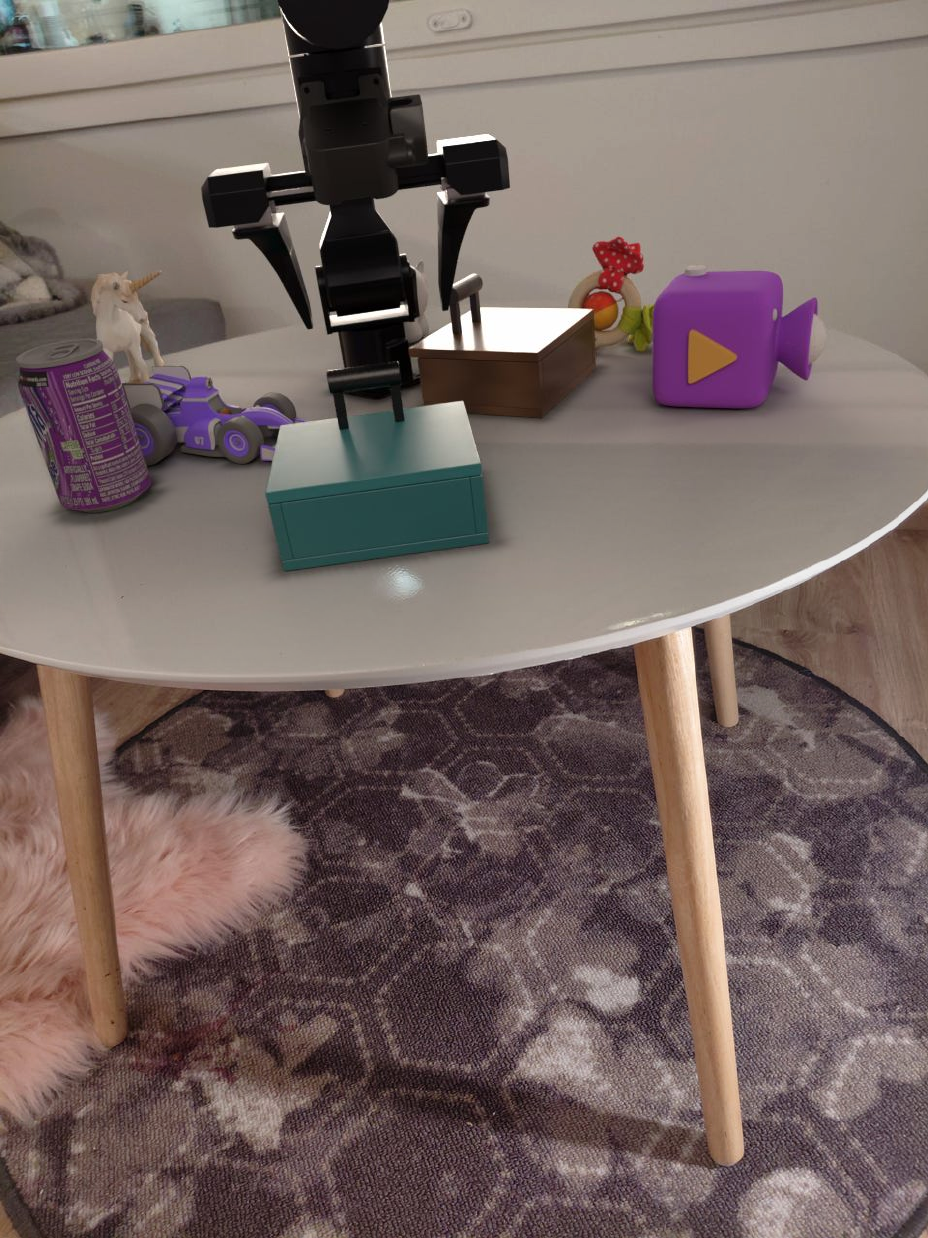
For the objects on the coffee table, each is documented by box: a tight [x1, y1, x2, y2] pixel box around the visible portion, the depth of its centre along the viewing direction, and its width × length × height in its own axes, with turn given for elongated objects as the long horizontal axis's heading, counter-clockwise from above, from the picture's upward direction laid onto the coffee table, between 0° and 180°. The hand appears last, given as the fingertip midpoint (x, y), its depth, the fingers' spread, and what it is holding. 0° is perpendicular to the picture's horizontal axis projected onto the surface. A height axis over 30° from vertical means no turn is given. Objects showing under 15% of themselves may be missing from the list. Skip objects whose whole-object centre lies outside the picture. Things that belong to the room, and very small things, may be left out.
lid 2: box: [408, 273, 594, 362], centre depth 84 cm, size 12×14×5 cm
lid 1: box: [264, 361, 483, 505], centre depth 63 cm, size 12×14×5 cm
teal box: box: [267, 474, 490, 572], centre depth 65 cm, size 12×14×5 cm
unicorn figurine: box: [90, 269, 165, 383], centre depth 95 cm, size 7×20×13 cm, turn 26°
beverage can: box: [15, 338, 152, 514], centre depth 72 cm, size 7×7×12 cm
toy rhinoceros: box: [400, 260, 430, 344], centre depth 106 cm, size 7×12×8 cm, turn 162°
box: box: [417, 318, 597, 419], centre depth 87 cm, size 12×14×5 cm
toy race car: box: [121, 365, 311, 467], centre depth 81 cm, size 10×15×6 cm, turn 72°
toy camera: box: [651, 264, 827, 409], centre depth 78 cm, size 11×14×10 cm
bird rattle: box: [567, 236, 655, 353], centre depth 92 cm, size 6×11×9 cm
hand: (377, 318), depth 64 cm, fingers open, 9 cm apart
